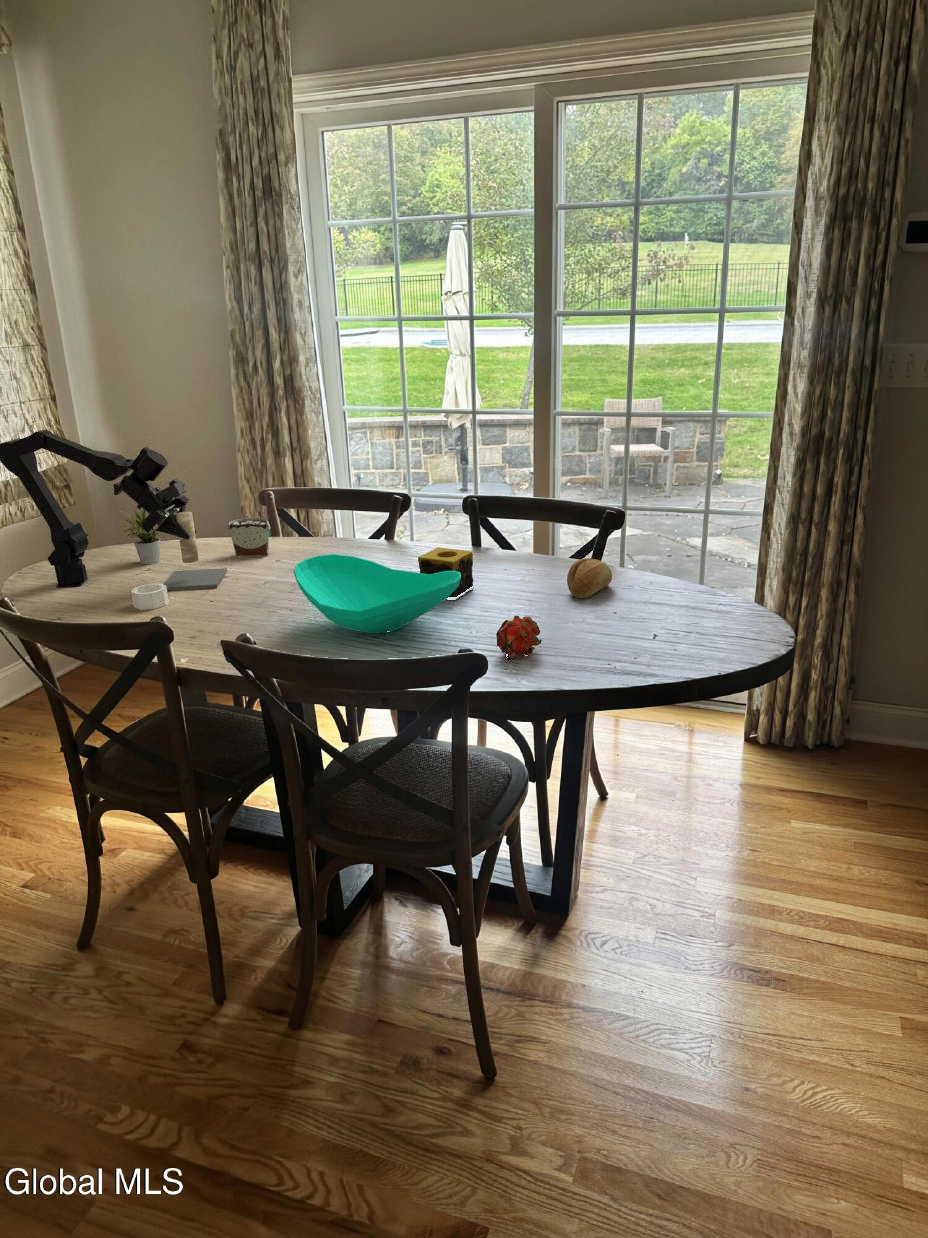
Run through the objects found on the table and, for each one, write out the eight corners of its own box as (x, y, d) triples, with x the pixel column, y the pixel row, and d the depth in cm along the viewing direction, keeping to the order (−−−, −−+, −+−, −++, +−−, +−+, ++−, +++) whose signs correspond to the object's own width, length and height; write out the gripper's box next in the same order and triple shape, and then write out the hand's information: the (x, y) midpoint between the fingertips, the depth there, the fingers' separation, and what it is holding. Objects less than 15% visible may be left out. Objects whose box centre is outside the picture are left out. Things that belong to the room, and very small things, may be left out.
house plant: (120, 558, 248) (110, 502, 242) (170, 551, 253) (161, 496, 248) (124, 571, 236) (114, 513, 230) (176, 563, 241) (167, 506, 235)
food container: (279, 550, 250) (275, 516, 247) (272, 556, 245) (268, 522, 241) (238, 550, 252) (234, 517, 248) (231, 556, 246) (226, 522, 242)
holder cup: (131, 610, 205) (128, 594, 204) (139, 599, 212) (137, 584, 211) (163, 608, 205) (160, 592, 204) (171, 598, 213) (168, 582, 211)
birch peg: (185, 563, 219) (178, 516, 215) (180, 560, 222) (173, 513, 218) (200, 560, 221) (194, 513, 217) (195, 557, 225) (189, 510, 220)
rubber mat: (161, 591, 218) (161, 587, 218) (174, 574, 231) (174, 570, 231) (217, 587, 219) (216, 584, 219) (227, 571, 232) (226, 568, 232)
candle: (418, 596, 208) (416, 557, 204) (438, 584, 216) (436, 546, 212) (455, 602, 203) (453, 561, 200) (474, 589, 211) (473, 550, 208)
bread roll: (557, 598, 203) (557, 566, 200) (581, 580, 215) (582, 550, 212) (595, 604, 198) (596, 571, 196) (618, 585, 211) (619, 554, 208)
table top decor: (269, 634, 187) (262, 576, 183) (346, 596, 210) (341, 543, 205) (421, 666, 168) (418, 602, 164) (488, 620, 190) (487, 563, 186)
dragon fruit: (534, 650, 178) (510, 680, 169) (503, 624, 179) (477, 652, 169) (555, 625, 172) (532, 654, 163) (522, 598, 173) (497, 626, 164)
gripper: (146, 478, 205) (197, 523, 208) (176, 464, 223) (223, 505, 226) (120, 511, 209) (170, 554, 212) (152, 494, 226) (198, 534, 229)
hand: (192, 535), depth 220 cm, fingers closed on birch peg, 4 cm apart
